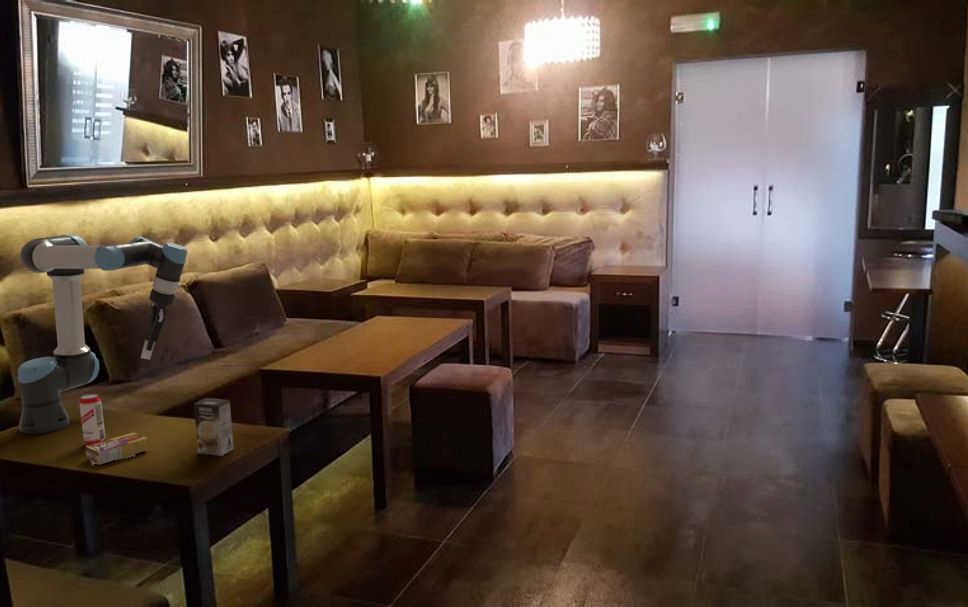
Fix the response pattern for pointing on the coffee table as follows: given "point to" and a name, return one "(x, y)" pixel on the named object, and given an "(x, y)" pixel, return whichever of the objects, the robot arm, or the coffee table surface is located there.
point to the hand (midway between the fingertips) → (145, 358)
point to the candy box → (117, 448)
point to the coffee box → (213, 426)
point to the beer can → (92, 419)
